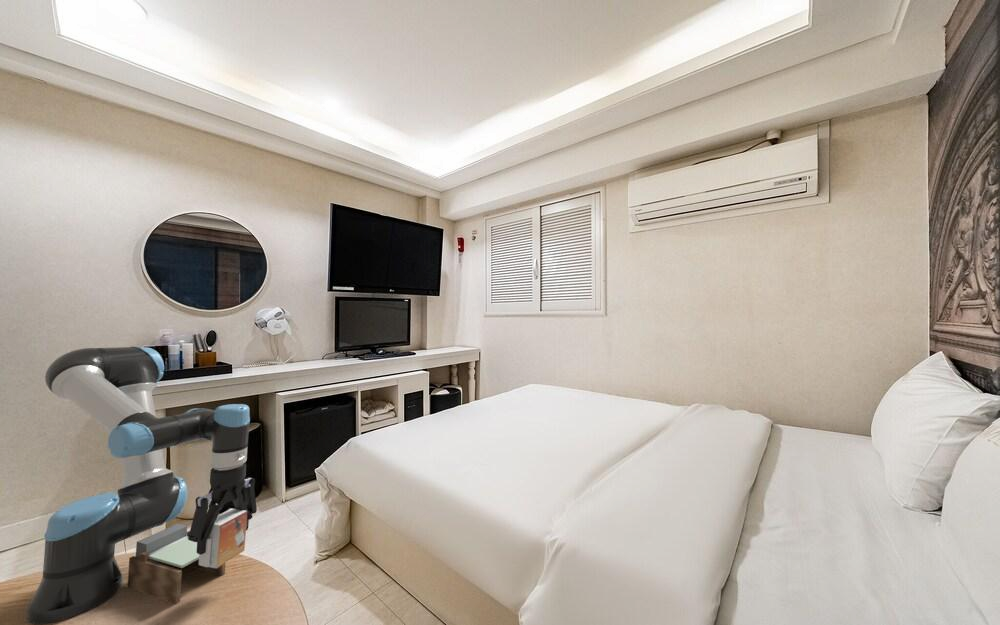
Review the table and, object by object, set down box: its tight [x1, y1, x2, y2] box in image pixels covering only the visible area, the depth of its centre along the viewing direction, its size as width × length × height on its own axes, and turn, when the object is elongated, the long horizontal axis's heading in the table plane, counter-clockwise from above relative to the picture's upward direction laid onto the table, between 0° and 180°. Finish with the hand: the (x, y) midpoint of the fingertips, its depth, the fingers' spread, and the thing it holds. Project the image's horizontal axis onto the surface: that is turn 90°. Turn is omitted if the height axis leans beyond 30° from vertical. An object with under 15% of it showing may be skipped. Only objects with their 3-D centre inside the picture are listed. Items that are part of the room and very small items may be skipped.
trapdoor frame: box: [126, 530, 226, 604], centre depth 96 cm, size 19×12×9 cm, turn 73°
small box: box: [200, 508, 247, 568], centre depth 93 cm, size 8×6×10 cm
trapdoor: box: [135, 523, 199, 569], centre depth 96 cm, size 18×9×6 cm, turn 73°
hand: (222, 554), depth 93 cm, fingers closed on small box, 8 cm apart
